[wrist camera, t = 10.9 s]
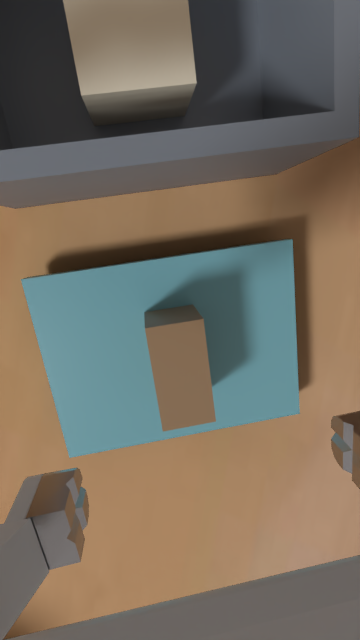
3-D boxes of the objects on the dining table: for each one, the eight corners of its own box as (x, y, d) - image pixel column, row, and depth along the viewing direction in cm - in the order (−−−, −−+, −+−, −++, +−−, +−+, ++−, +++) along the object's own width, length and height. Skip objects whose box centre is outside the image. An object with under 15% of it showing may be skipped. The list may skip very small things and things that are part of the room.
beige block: (73, 14, 16) (52, -55, 12) (172, 6, 16) (181, -64, 13) (94, 126, 17) (81, 95, 14) (184, 115, 18) (196, 83, 14)
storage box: (-52, -49, 16) (-237, -319, 8) (263, -71, 17) (365, -325, 9) (15, 208, 19) (-71, 190, 11) (276, 174, 20) (359, 137, 12)
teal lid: (32, 275, 20) (-7, 289, 15) (278, 238, 21) (324, 240, 16) (75, 439, 23) (56, 499, 18) (287, 399, 24) (327, 445, 19)
